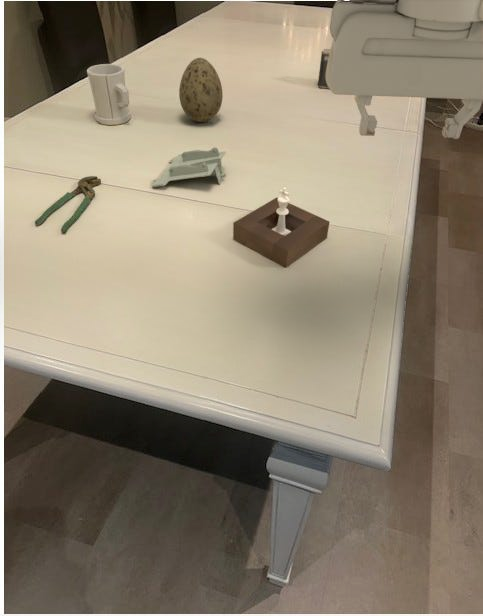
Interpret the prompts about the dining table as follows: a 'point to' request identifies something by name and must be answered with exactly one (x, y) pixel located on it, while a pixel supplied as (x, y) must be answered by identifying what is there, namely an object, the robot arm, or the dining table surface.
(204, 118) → the decorative egg
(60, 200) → the pliers
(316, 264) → the dining table surface
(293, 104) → the dining table surface
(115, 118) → the cup
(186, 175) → the metal bracket
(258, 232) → the socket block
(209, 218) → the dining table surface
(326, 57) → the camera
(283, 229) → the chess piece
